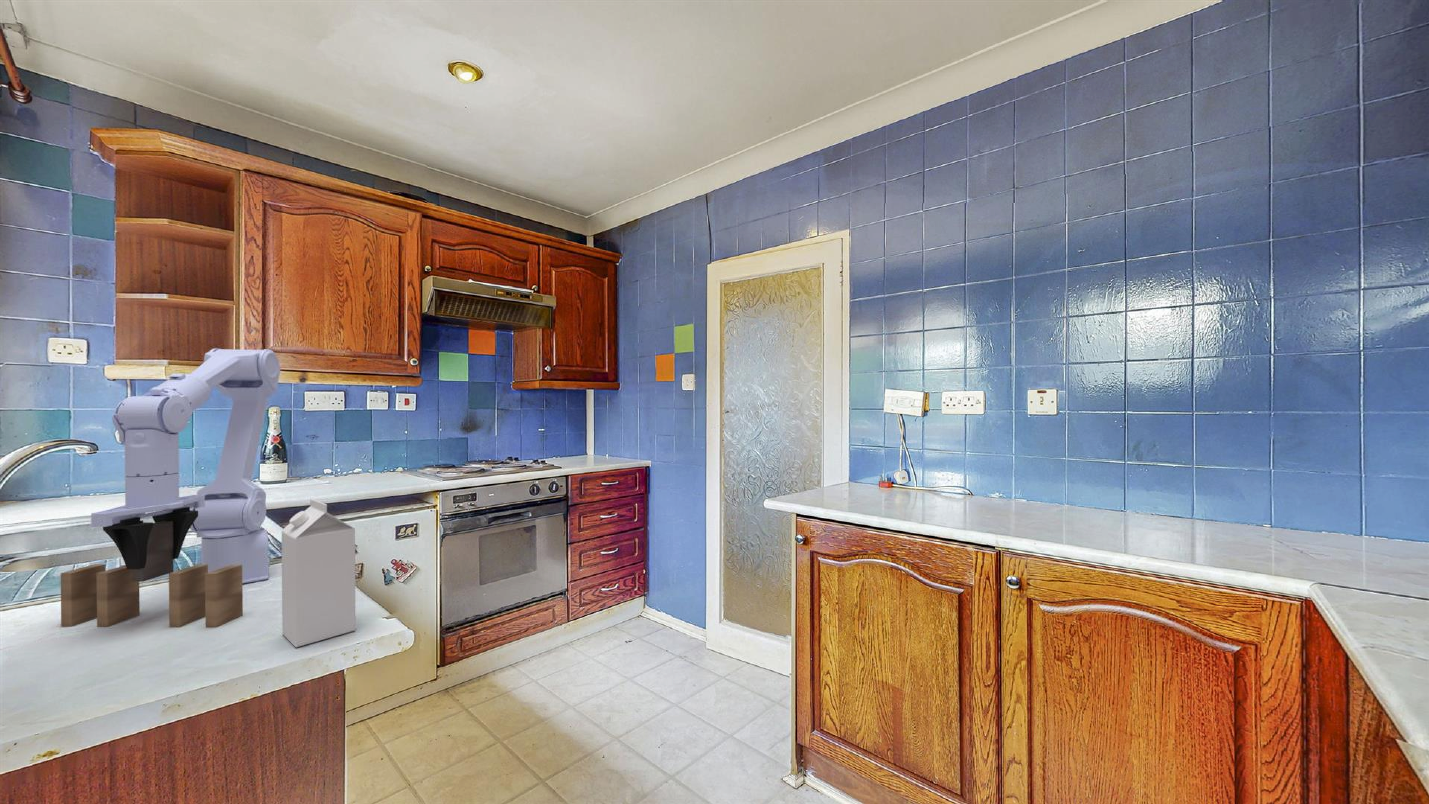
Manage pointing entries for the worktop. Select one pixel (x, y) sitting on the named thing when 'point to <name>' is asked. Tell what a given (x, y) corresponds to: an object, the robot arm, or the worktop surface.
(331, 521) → the milk carton
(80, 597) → the domino
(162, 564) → the ebony domino
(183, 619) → the domino
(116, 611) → the domino
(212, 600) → the domino
